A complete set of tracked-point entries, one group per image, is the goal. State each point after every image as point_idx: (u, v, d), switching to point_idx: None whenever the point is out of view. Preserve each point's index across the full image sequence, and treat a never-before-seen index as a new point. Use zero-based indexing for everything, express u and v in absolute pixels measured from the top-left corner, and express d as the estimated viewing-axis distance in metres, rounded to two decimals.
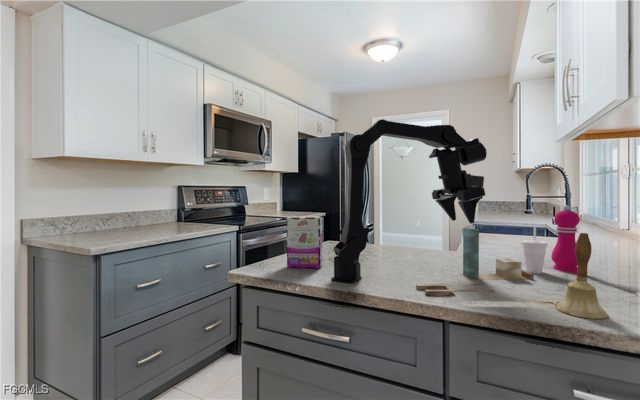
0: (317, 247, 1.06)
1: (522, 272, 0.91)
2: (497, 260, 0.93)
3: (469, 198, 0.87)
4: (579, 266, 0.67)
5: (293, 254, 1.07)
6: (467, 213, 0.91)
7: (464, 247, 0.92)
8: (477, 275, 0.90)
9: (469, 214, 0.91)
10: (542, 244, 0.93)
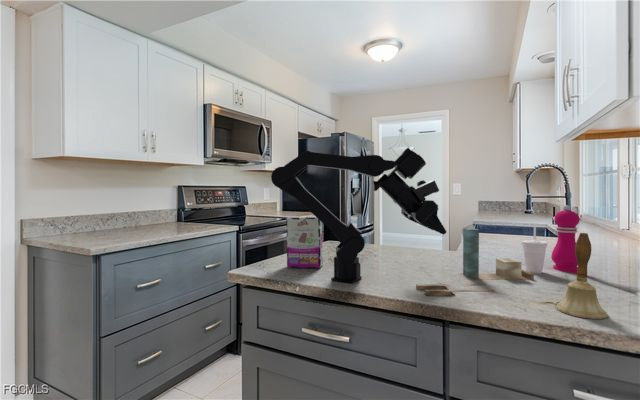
0: (317, 247, 1.06)
1: (522, 272, 0.91)
2: (497, 260, 0.93)
3: (423, 219, 0.82)
4: (579, 266, 0.67)
5: (293, 254, 1.07)
6: (433, 228, 0.86)
7: (464, 247, 0.92)
8: (477, 275, 0.90)
9: (436, 228, 0.86)
10: (542, 244, 0.93)
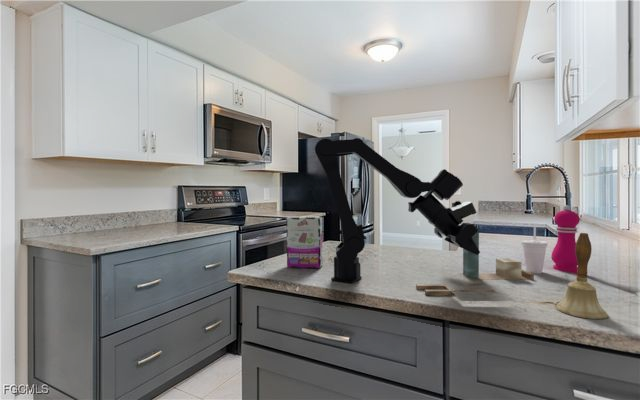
0: (317, 247, 1.06)
1: (522, 272, 0.91)
2: (497, 260, 0.93)
3: (463, 243, 0.82)
4: (579, 266, 0.67)
5: (293, 254, 1.07)
6: (468, 249, 0.89)
7: None
8: (477, 275, 0.90)
9: (470, 249, 0.89)
10: (542, 244, 0.93)
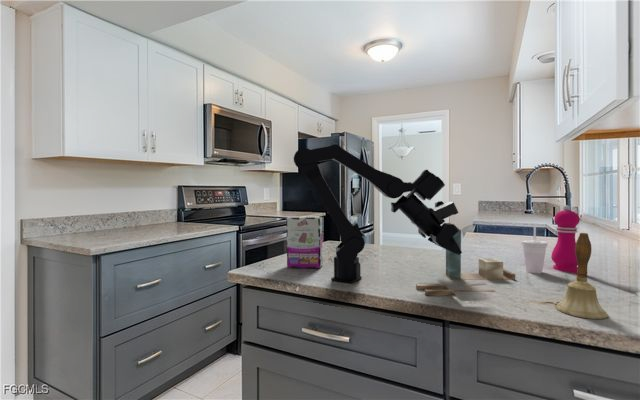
0: (317, 247, 1.06)
1: (504, 272, 0.92)
2: (480, 260, 0.93)
3: (444, 243, 0.82)
4: (579, 266, 0.67)
5: (293, 254, 1.07)
6: (449, 249, 0.89)
7: None
8: (459, 275, 0.90)
9: (452, 249, 0.89)
10: (542, 244, 0.93)
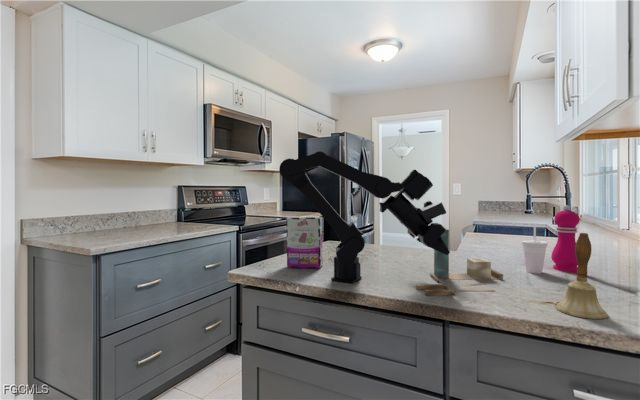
0: (317, 247, 1.06)
1: (492, 272, 0.92)
2: (468, 260, 0.93)
3: (431, 243, 0.83)
4: (579, 266, 0.67)
5: (293, 254, 1.07)
6: (437, 249, 0.89)
7: None
8: (447, 275, 0.90)
9: (440, 249, 0.89)
10: (542, 244, 0.93)
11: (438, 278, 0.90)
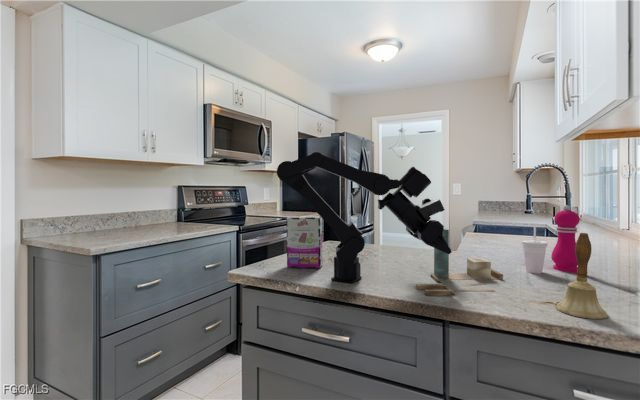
0: (317, 247, 1.06)
1: (492, 272, 0.92)
2: (468, 260, 0.93)
3: (429, 240, 0.83)
4: (579, 266, 0.67)
5: (293, 254, 1.07)
6: (439, 248, 0.86)
7: None
8: (447, 275, 0.90)
9: (442, 248, 0.86)
10: (542, 244, 0.93)
11: (438, 278, 0.90)
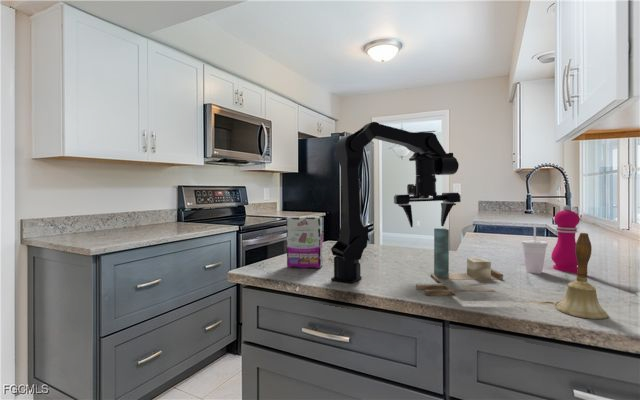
0: (317, 247, 1.06)
1: (492, 272, 0.92)
2: (468, 260, 0.93)
3: None
4: (579, 266, 0.67)
5: (293, 254, 1.07)
6: None
7: (435, 247, 0.92)
8: (447, 275, 0.90)
9: None
10: (542, 244, 0.93)
11: (438, 278, 0.90)
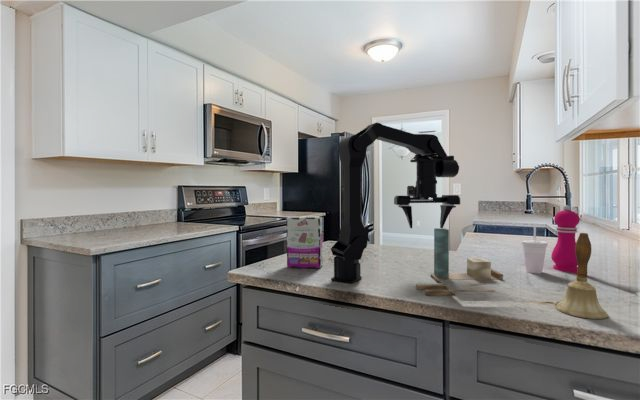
0: (317, 247, 1.06)
1: (492, 272, 0.92)
2: (468, 260, 0.93)
3: None
4: (579, 266, 0.67)
5: (293, 254, 1.07)
6: None
7: (435, 247, 0.92)
8: (447, 275, 0.90)
9: None
10: (542, 244, 0.93)
11: (438, 278, 0.90)
